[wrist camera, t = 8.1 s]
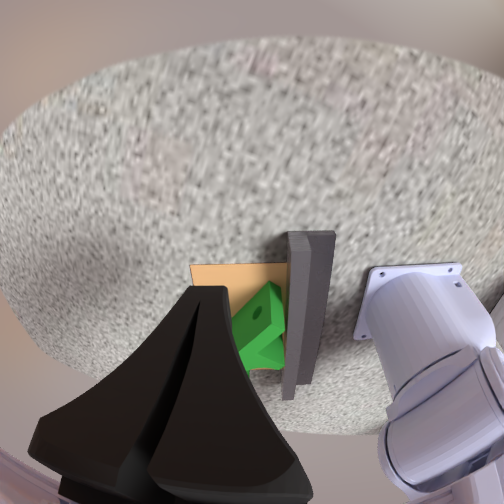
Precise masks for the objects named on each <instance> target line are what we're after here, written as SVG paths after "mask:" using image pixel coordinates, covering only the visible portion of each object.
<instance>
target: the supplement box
mask: <svg viewBox="0 0 504 504" xmlns="http://www.w3.org/2000/svg"><path fill="white" fill-rule="evenodd" d="M490 317H491V318H492V321H493V324H494V327H495V333H496V339H497V341H498V342H499V344H500V346H501V347H502V349H503V351H504V294H503V296H502V297H501V299H500V300H499V302H498V303H497V305H496V306H495V308H494V309H493V310H492V312H491V313H490Z"/></svg>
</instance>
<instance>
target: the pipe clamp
mask: <svg viewBox="0 0 504 504" xmlns="http://www.w3.org/2000/svg"><path fill="white" fill-rule="evenodd" d="M231 319H232V334H233V337H234V340H235V343H236V346H237V349H238V352H239V355H240V358H241V360H242V363H243V365H244V367H245V370H246V372H247V374H248V377H249V372H250V370H251V369H256V368H272V369H276V370H280V369H281V368H283V367H284V366H285V360H284V347H283V335H282V333H283V332H284V331H285V324H284V314H283V304H282V294H281V287H279V286H278V285H276V284H274V283H273V282H271V281H270V280H269V281H268V282H267V283H266V284H265V285H264V286H263V287H262V288H261V289H260V290H259V291H258V292H257V293H256V294H255V295H254V296H253V297H252V298H251V299H250V300H249V301H248V302H247V303H246V304H245V305H244V306H243V307H242V308H241V309H240V310H239V311H238V312H237V313H236V314H235V315H234V316H233V317H232V318H231Z"/></svg>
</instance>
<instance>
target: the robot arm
mask: <svg viewBox="0 0 504 504" xmlns="http://www.w3.org/2000/svg"><path fill="white" fill-rule="evenodd" d="M461 270H462V265H461V264H460V263H443V264H426V265H408V266H389V267H375V268H373V269H371V270H370V272H369V276H368V281H367V285H366V289H365V293H364V297H363V301H362V305H361V309H360V312H359V316H358V319H357V323H356V327H355V330H354V333H353V338H354V340H365V339H373V341H374V344H375V347H376V350H377V353H378V356H379V359H380V362H381V365H382V368H383V371H384V374H385V377H386V380H387V383H388V386H389V390H390V393H391V396H392V399H393V403H392V404H391V405H389V406H388V407H387V408H386V412H387V416H388V421H386V422H385V423H384V424H383V426H382V428H381V430H380V433H379V437H378V458H379V462H380V465H381V468H382V470H383V472H384V473H385V475H386V476H387V478H389V480H390V481H391V482H392V483H393V484H395V485H396V486H397V487H399V488H400V489H401V490H402V491H403V492H404V493H405V494H406V495H407V497H408V498H409V500H410V502H406V503H403V504H504V354H503V353H502V352H501V351H500V350H499V349H498V348H496V347H495V345H496V333H495V327H494V324H493V321H492V318H491V317H490V315H489V313H488V312H487V310H486V309H485V308H484V306H483V305H482V303H481V302H480V301H479V299H478V298H477V297H476V295H475V294H474V293H473V291H472V290H471V289H470V287H469V286H468V285H467V283H466V282H465V281H464V280H463V278H462V277H461V276H460V272H461ZM381 272H383V273H382V274H380V273H381ZM28 454H29V455H30V456H31V457H32V458H33V459H35V460H36V461H38V462H40V463H41V464H43V465H45V466H47V467H48V468H50V469H51V470H53V471H55V472H57V473H58V474H60V475H62V478H61V482H58V481H56V480H54V479H52V478H50V477H48V476H46V475H44V474H42V473H40V472H39V471H37V470H35V469H33V468H32V467H30V466H28V465H26V464H25V463H23V462H21V461H20V460H18V459H17V458H15V457H13V456H12V455H10V454H9V453H8V452H6V451H5V450H3V449H1V448H0V504H69V503H70V504H307V502H308V501H310V499H312V498H313V491H312V486H311V484H310V481H309V479H308V477H307V475H306V473H305V471H304V469H303V467H302V465H301V463H300V461H299V459H298V457H297V455H296V454H295V452H294V451H293V450H292V448H291V447H290V446H289V444H288V443H287V441H286V440H285V439H284V437H283V436H282V434H281V433H280V431H279V430H278V428H277V427H276V425H275V424H274V422H273V421H272V419H271V418H270V416H269V414H268V413H267V411H266V409H265V407H264V405H263V404H262V402H261V400H260V398H259V397H258V395H257V393H256V391H255V389H254V387H253V385H252V383H251V381H250V379H249V377H248V374H247V372H246V370H245V367H244V365H243V363H242V360H241V358H240V355H239V352H238V349H237V346H236V343H235V340H234V337H233V334H232V319H231V311H230V303H229V295H228V288H227V287H226V286H224V285H215V286H189V287H188V288H187V289H186V290H185V292H184V293H183V294H182V296H181V297H180V298H179V300H178V301H177V302H176V304H175V305H174V306H173V307H172V309H171V310H170V311H169V313H168V314H167V315H166V316H165V317H164V319H163V320H162V321H161V322H160V324H159V325H158V326H157V327H156V328H155V330H154V331H153V332H152V333H151V334H150V335H149V336H148V337H147V338H146V340H145V341H144V342H143V343H142V344H141V345H140V346H139V347H138V348H137V349H136V350H135V351H134V352H133V353H132V354H131V355H130V356H129V357H128V358H127V359H126V360H125V361H124V362H123V363H122V364H121V365H120V366H118V367H117V368H116V369H115V370H114V371H113V372H111V373H110V374H109V375H108V376H106V377H105V378H104V379H103V380H101V381H100V382H99V383H98V384H96V385H95V386H94V387H92V388H91V389H89V390H88V391H86V392H85V393H83V394H82V395H80V396H79V397H77V398H76V399H74V400H73V401H71V402H69V403H68V404H66V405H64V406H62V407H60V408H58V409H57V410H55V411H53V412H51V413H49V414H47V415H45V416H43V417H41V418H40V419H39V421H38V424H37V427H36V429H35V432H34V434H33V437H32V440H31V443H30V445H29V448H28Z"/></svg>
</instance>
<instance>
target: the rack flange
mask: <svg viewBox="0 0 504 504" xmlns="http://www.w3.org/2000/svg"><path fill="white" fill-rule="evenodd" d="M335 240H336V234H335V232H334V231H288V240H287V263H256V264H212V265H190V268H191V274H192V279H193V284H194V286H215V285H224V286H226V287H227V288H228V295H229V303H230V311H231V318H232V317H233V316H234V315H235V314H236V313H237V312H238V311H239V310H240V309H241V308H242V307H243V306H244V305H245V304H246V303H247V302H248V301H249V300H250V299H251V298H252V297H253V296H254V295H255V294H256V293H257V292H258V291H259V290H260V289H261V288H262V287H263V286H264V285H265V284H266V283H267V282H268V281H269V280H270V281H271V282H273V283H274V284H276V285H278V286H279V287H281V294H282V304H283V314H284V324H285V331H284V332H283V333H282V335H283V347H284V360H285V366H284V367H283V368H281V369H282V372H281V392H282V400H294V394H295V387H296V385H304V384H311V381H312V376H313V372H314V367H315V362H316V358H317V353H318V348H319V343H320V338H321V332H322V327H323V321H324V316H325V310H326V304H327V298H328V292H329V285H330V278H331V271H332V264H333V257H334V249H335ZM268 369H272V368H256V369H251V370H268Z"/></svg>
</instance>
